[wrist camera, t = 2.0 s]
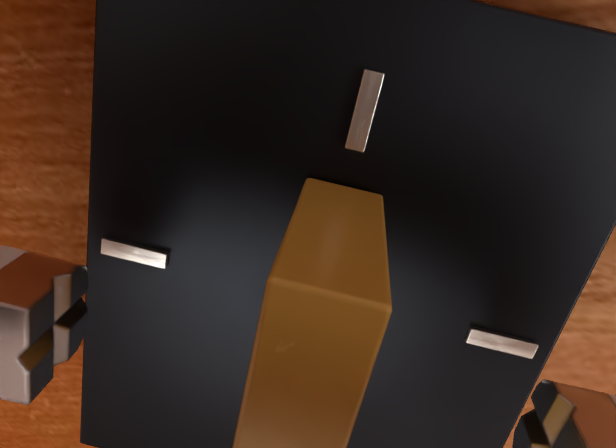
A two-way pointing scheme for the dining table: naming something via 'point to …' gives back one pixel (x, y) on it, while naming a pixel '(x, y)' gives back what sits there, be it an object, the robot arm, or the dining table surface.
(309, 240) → the thumb turn
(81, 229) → the dining table surface
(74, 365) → the dining table surface
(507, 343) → the plate
